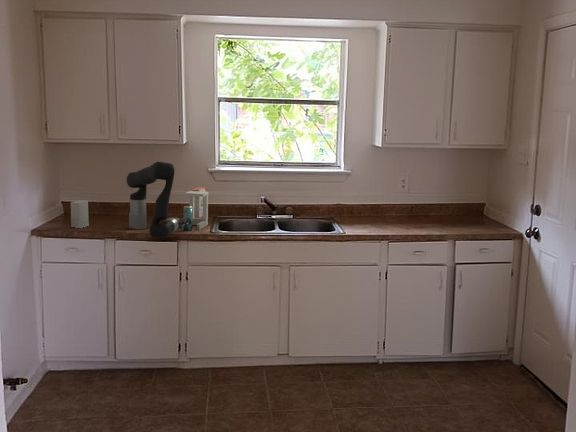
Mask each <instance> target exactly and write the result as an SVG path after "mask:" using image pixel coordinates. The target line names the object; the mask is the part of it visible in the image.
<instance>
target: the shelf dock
mask: <svg viewBox="0 0 576 432" xmlns="http://www.w3.org/2000/svg"><path fill="white" fill-rule="evenodd" d="M209 194H210V193H209V191H207V192H200V191H191V190H189V191H186V192H184V195H183V196H184V197H185V196H186V197H189V198H188V199H189V202H188V203H189V204H188V206H192V226H196V230H201V229H202V228H205V227H206V226H208V224H209V221H208V220H209ZM194 196H199V197H203V219H199V218H194ZM181 229H184V225H181Z"/></svg>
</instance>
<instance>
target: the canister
mask: <svg viewBox="0 0 576 432" xmlns="http://www.w3.org/2000/svg"><path fill="white" fill-rule="evenodd" d="M188 218H190V220H191V224H190V225H188V226H186V224H185V225H184V228H183V231H185V232H190V231H193V225H192V206H189V205H184V206H183V219H188ZM185 222H186V221H185Z"/></svg>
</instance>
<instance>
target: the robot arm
mask: <svg viewBox="0 0 576 432" xmlns="http://www.w3.org/2000/svg"><path fill="white" fill-rule="evenodd" d="M175 170H176V169H175V166H174V164H173V163H170V162H164V161H155V162H153V163H152V164H151V165H149V166H147V167H144V168H142V169H139V170H137V171H133V172H128V174H127V176H126V184H127V186H128V187H129V188H132V189H138V190H136V191H135V192H133V193H131V194H130V195H129V212H128V224H129V229H134V230H142V229H146V228H147V186H148V185H152V184H154V183H155V182H157V180H161V181H163V180H164V181H165V185H164V188H163V189H162V190H161V192H160V194H159V195H158V196H157V197H156V199H155V201H154V202H155V203H154V212H153V213H154V214H153V218H152V221H151V223H150V226H149V231H148V232H149V235H150V236H151V237H152V238H168V237H169V236H170V234H171V233H174V232H175V231H177V230H179V229H180V228H181V227H182V225H185V224H186V226H188V225H190V224H191V220H190V218H188V219H184V218H179V217H177V216H171V217H169V205H170V198H171V197H170V196H171V192H172V189H173V183H174V178H175ZM161 221H162V222H161ZM185 221H186V222H185ZM160 222H161V223H160Z"/></svg>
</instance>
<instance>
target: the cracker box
mask: <svg viewBox="0 0 576 432" xmlns="http://www.w3.org/2000/svg"><path fill="white" fill-rule="evenodd" d="M207 190H208V189H207V187H204V186H203V187H196V188H193V189H191V190H190V191H200V192H208V191H207ZM194 218H199V219H203V197H199V196H194Z"/></svg>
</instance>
